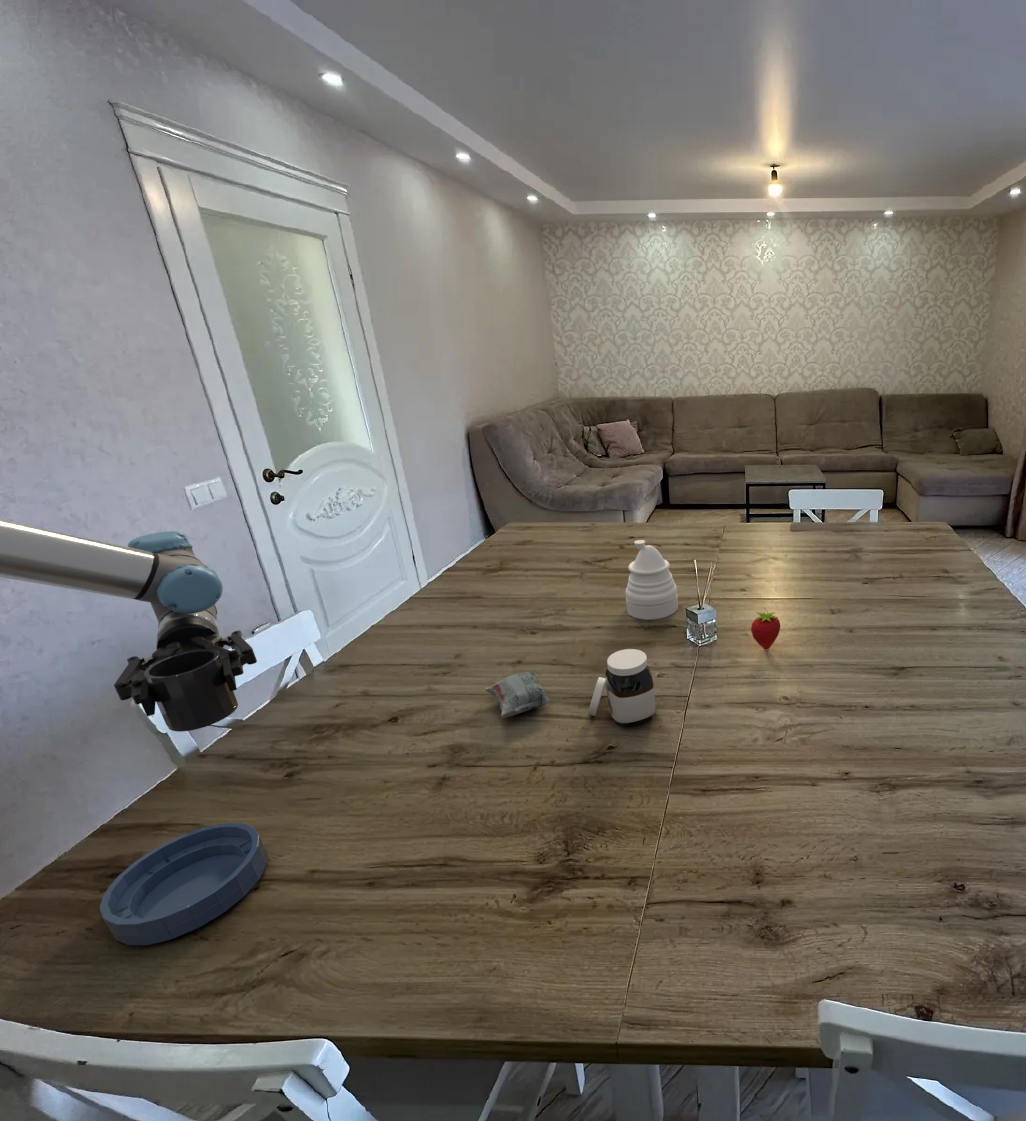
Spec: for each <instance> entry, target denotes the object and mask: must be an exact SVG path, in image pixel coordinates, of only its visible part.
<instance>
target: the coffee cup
mask: <svg viewBox="0 0 1026 1121" xmlns="http://www.w3.org/2000/svg"><path fill="white" fill-rule="evenodd" d="M144 675H145V678H146V681H147V683H148V685H149V687H150V689H151V692H152V694H153V696H154V698H155V701H156V703H155V704H156V705H157V707H158V710H159V712H160V714H161V716H162V718H163V720H164V721H163V722H164V723H165V725H166V726H167V728H168V729H169V730H170V731H172V732H177V733H178V732H181V733H182V732H189V731H195V730H199V729H203V728H206V727H208V726H209V727H210V726H211V725H214V724H216V723H219V722H220V721H223V720H224V719H226V718H228V717H229V716H230V715H232V714H233V713H235V711H236V710H237V709H238V707H239V702H238V700H237V697H236V694H235V692H234V691H235V690H234V691H231V692H230V690H229V687H228V685H227V682H226V679H225V677H224V671H223V663H222V660H221V658H220V655H219V653H218V651H215V650H212V649H200V650H194V651H188V652H184V653H180V654H177V655H173V656H171V657H168V658H166V659H163V660H161V661H159V662H157V663H155V664H153V665H152V666H150V667H149V668H148V669H147V670H146V671H145V672H144Z"/></svg>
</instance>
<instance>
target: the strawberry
mask: <svg viewBox="0 0 1026 1121" xmlns="http://www.w3.org/2000/svg"><path fill="white" fill-rule="evenodd" d="M764 610H765V611H766V612H767V613H766V612H758V611H756V612H755V613H756V614H757V615H758V617H756V618H755V619H754V620H753V621H752V623H751V626H750V631H751V634H752V638H753V639H754V640H755V642H756V643H757V644H758V645H759V646H760V647H761V648H762V649H763V650H765V651H768V650H769V649H770V648H771V646H773V644H774V643H775V641H776V639H777V638H778V636H779V634H780V631H781V627H782V626H781V621H780V619H778V618H779V617H778V616H776V615H775V613H776V612H775V611H773V612H769V611H768V610H767V609H766V608H764Z"/></svg>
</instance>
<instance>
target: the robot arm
mask: <svg viewBox="0 0 1026 1121" xmlns="http://www.w3.org/2000/svg"><path fill="white" fill-rule="evenodd" d="M188 538H189V537H188V536H187V535H186V534H185V533H183V532H181V531H177V530H175V531H174V530H172V531H169V530H167V531H160V532H154V533H149V534H145V535H144V534H143V535H140V536H138V537H137V536H136V537H135V538H133V539H132V540H130V541H129V542H128V544H127V546H125V545H120V544H116V543H111V542H107V541H104V540H103V541H102V540H98V539H94V538H88V537H83V536H79V535H75V534H71V533H67V532H62V531H57V530H52V529H48V528H43V527H40V526H35V525H30V524H25V523H21V522H17V521H12V520H7V519H4V518H0V578H4V579H9V580H17V581H21V582H27V583H33V584H39V585H46V586H51V587H57V588H63V589H70V590H75V591H81V592H88V593H95V594H100V595H105V596H106V595H107V596H111V597H118V598H124V599H130V600H135V601H139V602H145V603H150V605H151V607H152V610H153V612H154V614H155V616H156V620H157V625H158V627H157V636H156V649H155V651H153V652H152V654H151V656H148V657H139V656H137V655H136V656H135V655H134V656H130V657H128V658H126V661H127V663H128V664H127V665H126V667H125V668H124V669H123V671H122V673H121V674H120V676H118V679H117V680H116V681H115V682H114V684H113V687H114V689H115V691H116V694H117V696H118V698H119V700H120V701H127V700H130V699H132V700H133V703H134V705H140V704H141V707H142V709H143V711H144V713H145V715H146V717H147V718H148V717H150V716H153V715H155V714H156V704H157V703H156V701H155V698H154V696H153V694H152V692H151V689H150V687H149V685H148V683H147V681H146V678H145V675H144V672H145V671H146V670H147V669H148V668H149V667H150V666H152V665H153V664H155V663H157V662H159V661H161V660H163V659H166V658H168V657H171V656H173V655H177V654H180V653H184V652H188V651H194V650H200V649H212V650H215V651H218V653H219V655H220V658H221V660H222V663H223V671H224V677H225V679H226V682H227V685H228V687H229V690H230V692H231V691H237V690H238V688H237V683H236V677H238V676H241V675H243V674H244V673H245V672H244V666H245V665H249V666H250V665H254V664H256V663H258V660H257V657H256V654H255V651H254V649H253V647H252V646H251V645H250V644H249V643H248V642H247V641H246V639H245V638H244V635H243V633H242V630H234V631H231V634H229V635H227V636H226V637H222V636H221V635H220V631H219V625H218V616H217V615H218V609H217V606H216V604H217V603H218V602H219V601H220V599H221V597H222V595H223V591H224V590H223V588H224V586H223V582H222V580H221V579H220V577H219V575H218V574H217V572H216V571H215V570H214V569H212V568H210V567H209V566H207V565H206V564H204V563H203V561H201V560H200V559H199V558H198V557H196V555H195V553H194V550H193V548H194V547H193V545H192V544H191V542H190V541H189V539H188ZM225 646H227V647H230V649H231V650H230V649H228V648H224V647H225Z"/></svg>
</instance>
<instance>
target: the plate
mask: <svg viewBox="0 0 1026 1121" xmlns="http://www.w3.org/2000/svg"><path fill="white" fill-rule="evenodd" d="M267 856H268V853H267V851H266V849H265V846H264V844H263V841H262V838H261V837H260V834H259V832H257V830H256V829H255V828H254V826H251V825H249V824H246V823H243V822H223V823H218V824H213V825H208V826H204V827H201V828H197V829H195V830H192V831H190V832H187V833H184V834H181V835H179V836H176V837H174V838H173V839H170V840H169V841H167V842H164V843H163V844H160V845H158V846H156V847H155V848H153V849H152V850H151V851H148V853H146V854H144V855H143V856H141V857H139V858H138V859H136V860H135V861H134V862H132V864H130V865H129V866H128V867H127V868H126V869H124V870H123V871H122V872H121V873H120V874H119V875H117V877H116V878H115V879H114V880H113V882H112V883H111V884H110V886H108V888H107V889H106V891H105V892H104V893H103V895H102V898H101V902H100V904H99V912H100V914H101V917H102V919H103V921H104V923H105V924H106V927H107V928H108V930H109V931H110V933H111V936H112V937H113V938H114V940H116V941H118V942H120V943H122V944H124V945H126V946H150V945H154V944H158V943H159V944H160V943H163V942H167V941H171V940H174V939H175V938H178V937H181V936H182V935H185V934H188V933H190V932H192V931H195V930H197V929H199V928H201V927H203V926H204V925H206V924H207V923H210V922H211V921H213V920H214V919H216V918H218V917H220V916H221V915H223V914H224V913H226V912H227V911H228V910H230V909H231V908H232V907H233V906H234V905H236V904H237V903H238V902H239V901H240V900H242V899H243V898H244V897H245V896H246V895H248V893H249V892H250V890H252V888H253V887H255V885H256V884H257V883H258V882H259V880H260V879H261V877H262V874H263V873H264V871H265V869H266V867H267V861H268V860H267Z"/></svg>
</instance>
